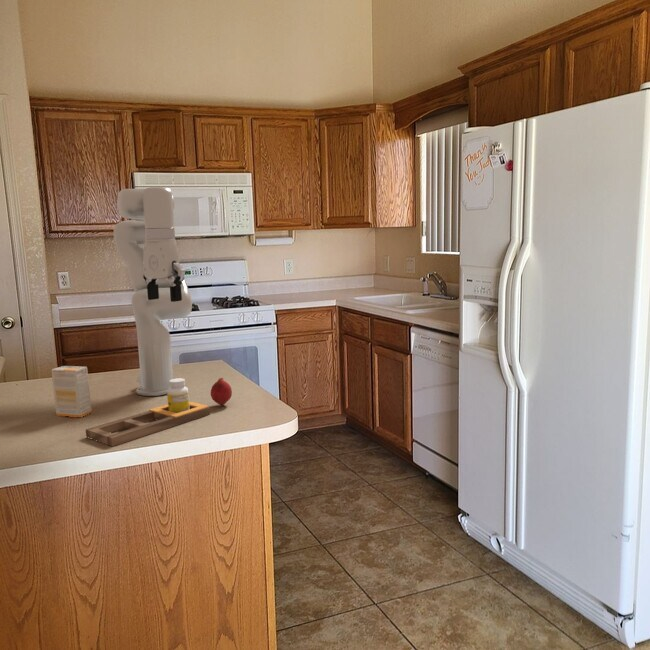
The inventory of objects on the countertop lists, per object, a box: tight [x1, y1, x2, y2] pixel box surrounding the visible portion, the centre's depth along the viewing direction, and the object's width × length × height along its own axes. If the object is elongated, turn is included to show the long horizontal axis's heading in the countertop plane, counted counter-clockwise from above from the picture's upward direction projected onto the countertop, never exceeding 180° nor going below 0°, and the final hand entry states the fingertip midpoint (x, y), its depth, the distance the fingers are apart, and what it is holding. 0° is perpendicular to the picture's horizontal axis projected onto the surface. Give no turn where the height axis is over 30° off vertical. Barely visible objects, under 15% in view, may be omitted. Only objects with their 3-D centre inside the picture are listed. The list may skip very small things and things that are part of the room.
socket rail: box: [85, 400, 211, 447], centre depth 151 cm, size 11×29×2 cm, turn 142°
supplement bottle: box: [166, 377, 190, 413], centre depth 158 cm, size 5×5×10 cm
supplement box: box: [51, 365, 92, 418], centre depth 162 cm, size 8×5×13 cm, turn 71°
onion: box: [210, 377, 233, 406], centre depth 166 cm, size 6×6×8 cm
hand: (164, 300), depth 160 cm, fingers open, 9 cm apart
